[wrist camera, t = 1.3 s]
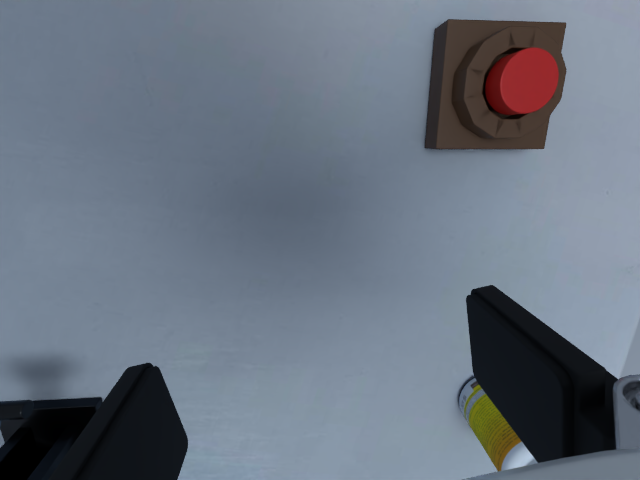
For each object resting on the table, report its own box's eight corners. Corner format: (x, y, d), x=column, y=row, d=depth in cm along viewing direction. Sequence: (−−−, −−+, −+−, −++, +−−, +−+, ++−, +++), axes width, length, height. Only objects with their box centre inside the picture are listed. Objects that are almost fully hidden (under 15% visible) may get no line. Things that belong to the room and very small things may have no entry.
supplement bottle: (449, 415, 34) (512, 527, 25) (465, 367, 33) (539, 465, 23) (502, 420, 35) (584, 530, 25) (520, 373, 34) (614, 470, 24)
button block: (434, 28, 24) (461, 9, 21) (543, 31, 25) (589, 13, 21) (424, 147, 27) (446, 150, 23) (525, 147, 27) (562, 150, 24)
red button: (488, 53, 22) (505, 46, 20) (544, 54, 22) (564, 47, 20) (481, 114, 23) (496, 113, 21) (533, 115, 23) (552, 113, 21)
